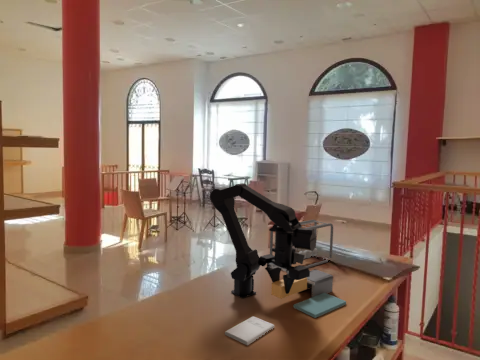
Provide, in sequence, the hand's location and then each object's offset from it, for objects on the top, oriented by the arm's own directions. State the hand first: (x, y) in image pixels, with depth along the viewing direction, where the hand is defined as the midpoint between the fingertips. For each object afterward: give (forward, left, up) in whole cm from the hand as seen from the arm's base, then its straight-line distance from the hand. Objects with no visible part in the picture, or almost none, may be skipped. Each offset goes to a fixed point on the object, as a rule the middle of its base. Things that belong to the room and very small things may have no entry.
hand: (282, 291), depth 124 cm
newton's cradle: (+35, +23, -5) cm, 42 cm away
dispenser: (+17, 0, -4) cm, 18 cm away
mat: (+9, -9, -4) cm, 13 cm away
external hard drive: (-20, -7, -5) cm, 22 cm away
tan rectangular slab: (+4, 0, -1) cm, 4 cm away
